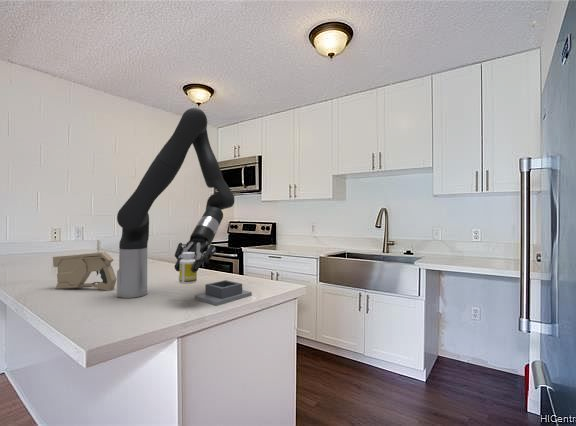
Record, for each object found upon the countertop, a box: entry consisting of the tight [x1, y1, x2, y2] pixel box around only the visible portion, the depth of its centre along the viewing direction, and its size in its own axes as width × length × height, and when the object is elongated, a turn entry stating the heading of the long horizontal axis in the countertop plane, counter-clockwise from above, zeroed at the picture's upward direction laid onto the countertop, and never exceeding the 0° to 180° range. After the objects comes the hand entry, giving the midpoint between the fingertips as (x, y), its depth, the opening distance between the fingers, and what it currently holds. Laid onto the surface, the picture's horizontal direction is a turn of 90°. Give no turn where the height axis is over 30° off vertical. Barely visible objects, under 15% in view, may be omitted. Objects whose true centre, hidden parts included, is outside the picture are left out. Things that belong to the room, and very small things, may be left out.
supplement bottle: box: [178, 251, 198, 285], centre depth 99 cm, size 5×5×10 cm
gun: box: [52, 251, 117, 292], centre depth 119 cm, size 24×3×15 cm, turn 84°
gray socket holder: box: [194, 279, 253, 306], centre depth 108 cm, size 16×12×5 cm
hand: (184, 270), depth 97 cm, fingers closed on supplement bottle, 5 cm apart
